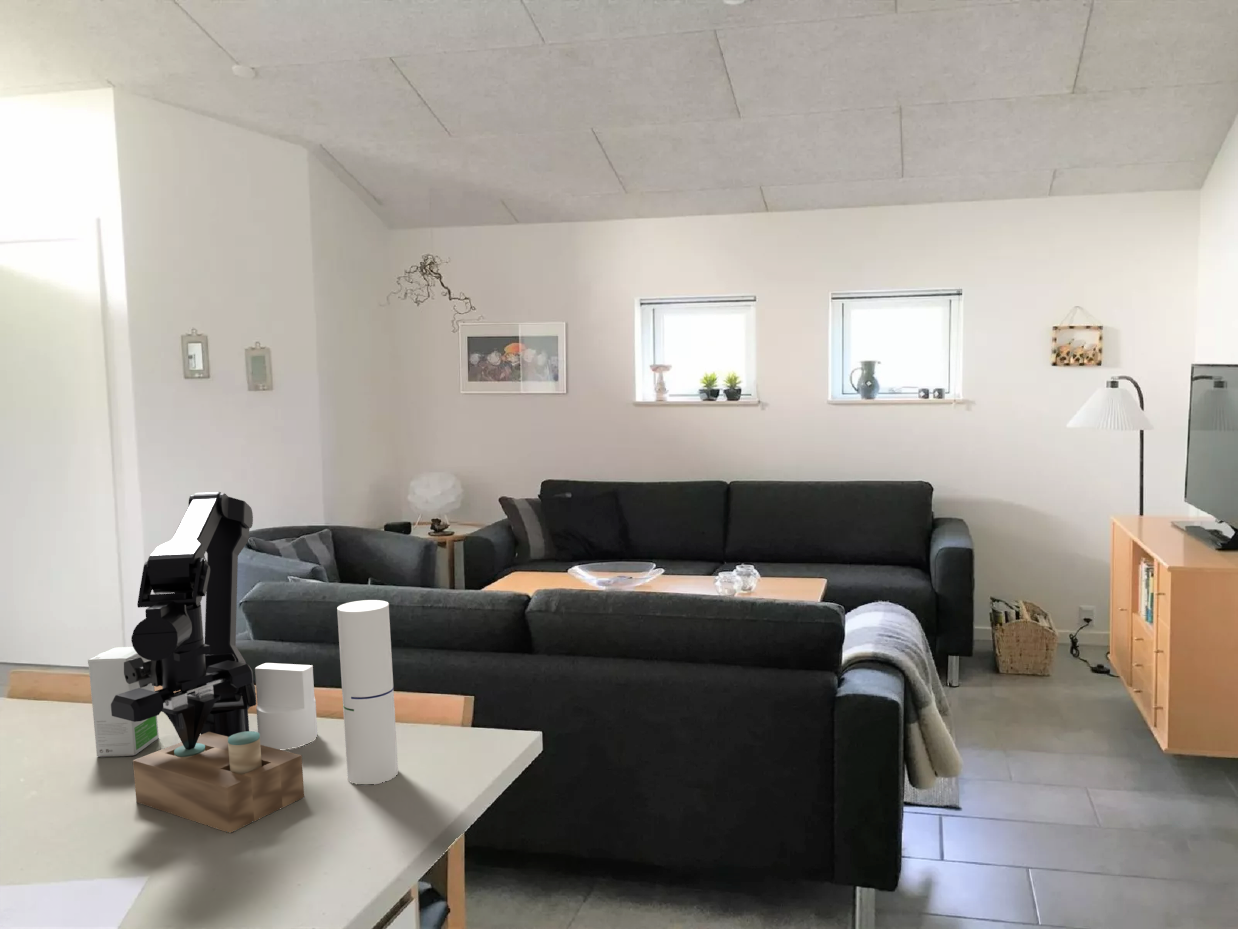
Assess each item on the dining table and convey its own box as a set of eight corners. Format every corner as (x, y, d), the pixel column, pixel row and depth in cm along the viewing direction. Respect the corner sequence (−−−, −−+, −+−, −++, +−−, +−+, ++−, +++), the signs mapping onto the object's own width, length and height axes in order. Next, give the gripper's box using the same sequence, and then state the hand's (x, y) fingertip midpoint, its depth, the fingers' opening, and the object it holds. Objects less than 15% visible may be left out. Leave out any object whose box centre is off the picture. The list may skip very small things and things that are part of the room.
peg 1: (196, 779, 143) (193, 741, 142) (213, 785, 141) (211, 746, 140) (171, 790, 139) (168, 751, 139) (188, 795, 137) (185, 756, 137)
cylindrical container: (385, 786, 139) (375, 612, 137) (338, 783, 141) (327, 611, 139) (406, 766, 146) (396, 600, 144) (361, 764, 148) (351, 599, 146)
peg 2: (249, 769, 136) (246, 729, 136) (268, 775, 134) (265, 734, 133) (224, 780, 133) (221, 739, 132) (243, 786, 131) (240, 744, 130)
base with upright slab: (328, 731, 162) (324, 659, 161) (297, 752, 154) (293, 677, 152) (279, 727, 164) (275, 657, 163) (246, 748, 156) (241, 674, 155)
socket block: (211, 770, 147) (208, 731, 147) (304, 797, 137) (301, 755, 136) (136, 802, 137) (132, 760, 136) (230, 833, 127) (226, 787, 126)
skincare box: (134, 757, 154) (126, 659, 152) (92, 758, 154) (84, 660, 153) (160, 737, 162) (153, 644, 161) (120, 738, 162) (113, 645, 161)
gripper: (203, 618, 150) (210, 718, 152) (82, 650, 134) (92, 761, 136) (251, 626, 144) (259, 730, 146) (131, 660, 128) (141, 776, 130)
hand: (189, 748), depth 139 cm, fingers closed, pressing on peg 1
